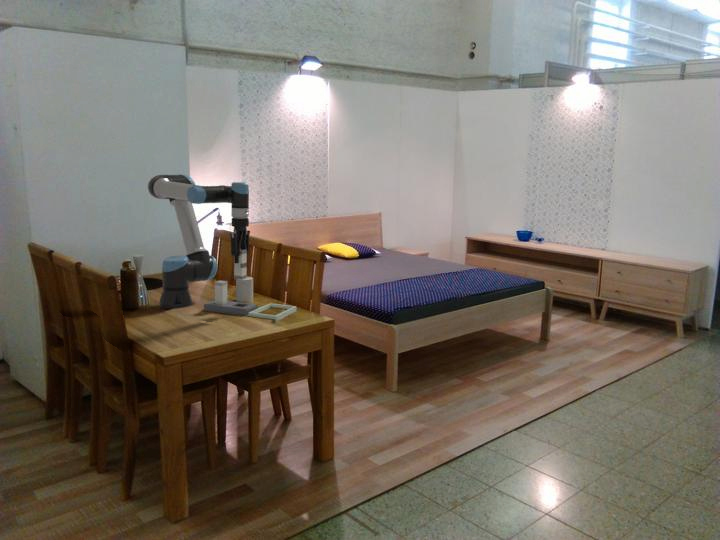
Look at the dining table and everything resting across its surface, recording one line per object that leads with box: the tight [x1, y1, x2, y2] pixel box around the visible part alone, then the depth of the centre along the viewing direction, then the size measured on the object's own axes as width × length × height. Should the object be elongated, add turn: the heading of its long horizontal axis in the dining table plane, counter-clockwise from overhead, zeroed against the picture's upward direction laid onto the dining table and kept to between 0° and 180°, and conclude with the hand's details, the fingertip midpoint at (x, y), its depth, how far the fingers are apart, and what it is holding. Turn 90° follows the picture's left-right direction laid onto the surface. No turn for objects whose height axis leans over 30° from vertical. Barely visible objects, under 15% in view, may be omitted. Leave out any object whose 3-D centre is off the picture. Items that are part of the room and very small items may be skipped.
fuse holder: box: [203, 299, 258, 317], centre depth 278 cm, size 22×10×4 cm, turn 70°
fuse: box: [214, 280, 229, 305], centre depth 279 cm, size 4×4×13 cm
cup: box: [235, 276, 254, 303], centre depth 298 cm, size 8×8×12 cm
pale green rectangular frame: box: [247, 302, 297, 323], centre depth 276 cm, size 14×20×2 cm
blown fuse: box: [233, 248, 248, 280], centre depth 273 cm, size 4×4×13 cm
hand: (240, 269), depth 273 cm, fingers closed on blown fuse, 4 cm apart
